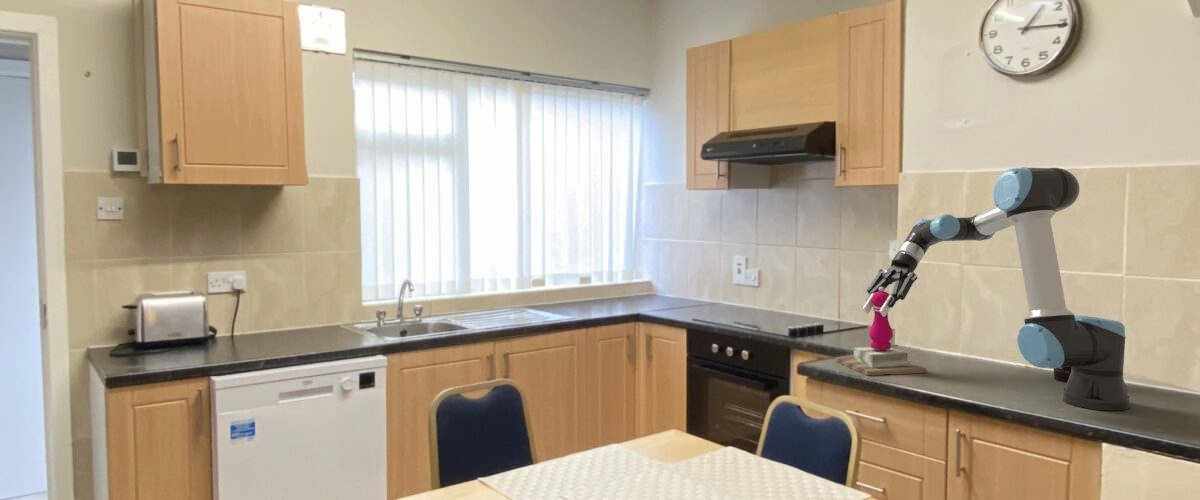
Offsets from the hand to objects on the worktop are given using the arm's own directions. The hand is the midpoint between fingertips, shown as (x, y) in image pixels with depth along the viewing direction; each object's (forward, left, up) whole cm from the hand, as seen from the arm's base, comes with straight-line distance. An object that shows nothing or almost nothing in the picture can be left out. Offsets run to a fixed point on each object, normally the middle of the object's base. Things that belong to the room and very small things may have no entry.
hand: (873, 312), depth 244 cm
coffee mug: (-24, -49, -18) cm, 58 cm away
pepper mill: (+1, -3, -12) cm, 13 cm away
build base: (+1, -3, -18) cm, 19 cm away
